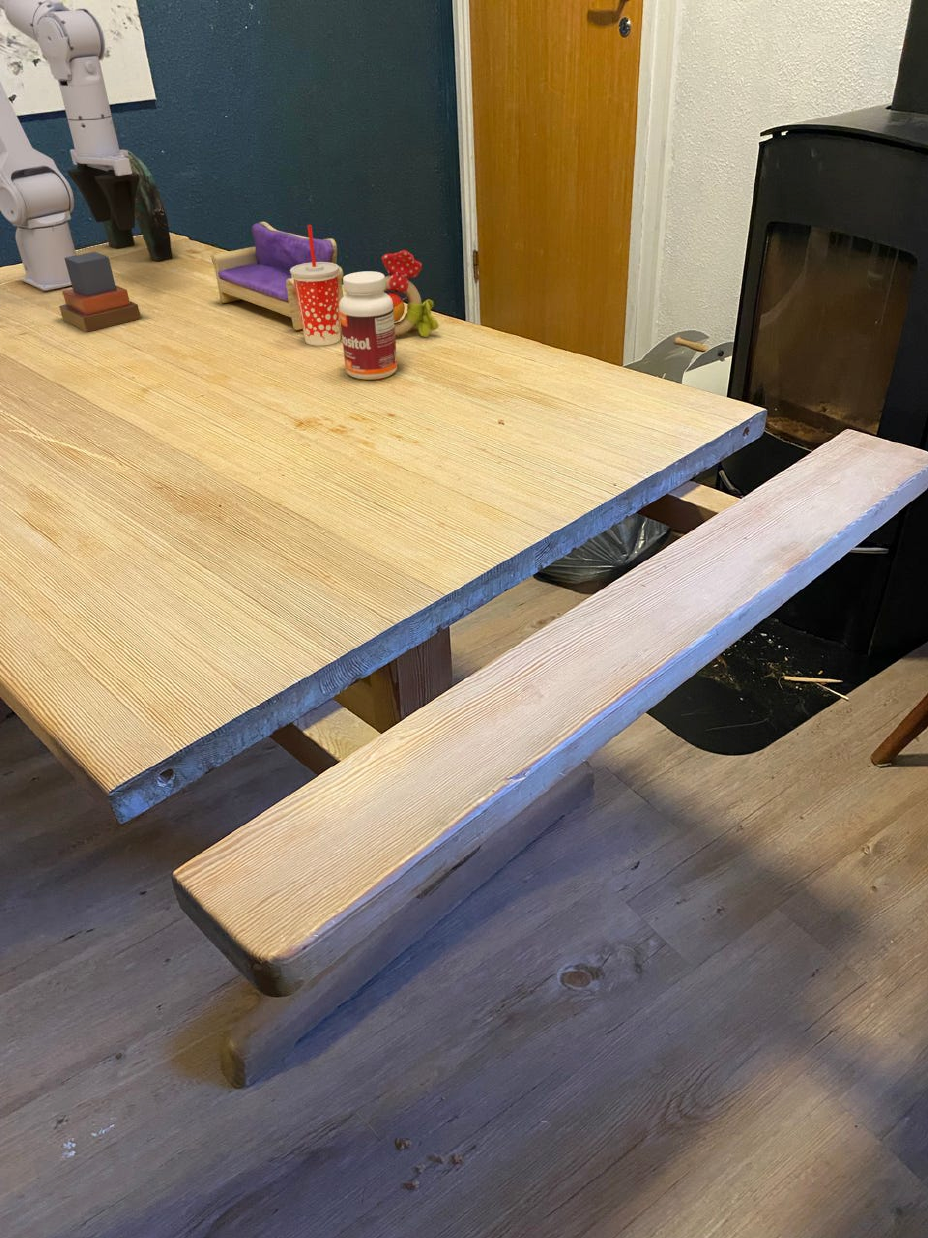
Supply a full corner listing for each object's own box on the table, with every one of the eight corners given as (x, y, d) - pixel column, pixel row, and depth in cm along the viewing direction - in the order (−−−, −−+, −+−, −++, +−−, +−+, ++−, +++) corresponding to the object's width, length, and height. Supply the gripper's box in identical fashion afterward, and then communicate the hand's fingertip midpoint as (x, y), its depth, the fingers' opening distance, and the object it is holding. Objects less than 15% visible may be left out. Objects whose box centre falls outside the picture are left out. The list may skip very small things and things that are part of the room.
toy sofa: (217, 302, 133) (203, 228, 127) (267, 289, 137) (256, 217, 131) (297, 333, 120) (286, 253, 114) (350, 318, 125) (342, 240, 119)
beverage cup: (354, 341, 117) (343, 225, 109) (311, 350, 114) (296, 233, 106) (334, 329, 121) (321, 217, 113) (292, 338, 119) (276, 224, 110)
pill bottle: (335, 373, 107) (324, 278, 101) (371, 359, 111) (363, 266, 105) (372, 385, 104) (363, 287, 98) (408, 369, 108) (402, 274, 101)
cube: (72, 290, 126) (64, 257, 123) (102, 283, 128) (94, 251, 125) (86, 296, 123) (77, 262, 120) (116, 289, 125) (108, 256, 123)
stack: (62, 319, 128) (54, 291, 126) (115, 307, 132) (108, 278, 130) (87, 332, 123) (79, 302, 121) (141, 318, 127) (134, 289, 125)
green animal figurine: (99, 245, 164) (68, 120, 152) (132, 239, 167) (104, 116, 156) (151, 264, 152) (122, 130, 140) (186, 256, 156) (160, 125, 144)
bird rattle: (397, 362, 116) (456, 324, 116) (355, 285, 109) (418, 245, 109) (382, 348, 121) (438, 311, 121) (341, 273, 114) (401, 235, 114)
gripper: (142, 118, 120) (164, 227, 128) (94, 110, 128) (118, 212, 136) (91, 124, 116) (117, 236, 124) (46, 115, 125) (73, 221, 133)
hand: (115, 224), depth 130 cm, fingers open, 7 cm apart
